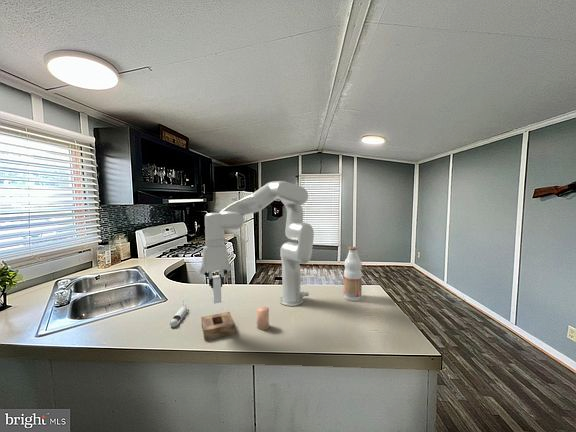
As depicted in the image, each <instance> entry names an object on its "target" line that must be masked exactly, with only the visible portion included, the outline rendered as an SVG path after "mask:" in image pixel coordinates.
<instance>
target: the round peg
mask: <svg viewBox="0 0 576 432" xmlns="http://www.w3.org/2000/svg"><path fill="white" fill-rule="evenodd" d="M269 311H270V309H269V307H268V306H259V307H257V308H256V324H257V326H256V328H257V330H260V331H266V330H268V329H269V327H270V313H269Z"/></svg>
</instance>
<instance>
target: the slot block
mask: <svg viewBox="0 0 576 432" xmlns="http://www.w3.org/2000/svg"><path fill="white" fill-rule="evenodd" d="M201 329H202V335H203V339H204V341H206V340H212V339H217V338H220V337H224V336H225V337H226V336H230V335H234V334H236V323H235V320H234V319H233V316H232V314H231V313H230V311H227V312H221V313H215V314H210V315H205V316H204V315H203V316H201Z"/></svg>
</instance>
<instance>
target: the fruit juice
mask: <svg viewBox="0 0 576 432" xmlns="http://www.w3.org/2000/svg"><path fill="white" fill-rule="evenodd" d="M347 248H348V254H347V257H346V258H345V260H344V261H343V262H344V264H343V265H344V271H343V297H344V299H345V300H346V301H350V302H359V301H361V300H362V287H363V286H362V284H363V283H362V281H363V280H362V278H363V275H362V274H363V272H362V266H363V264H362V260H361V259H360V257H359V254H358V251H359V248H358V247H357V246H348V247H347Z"/></svg>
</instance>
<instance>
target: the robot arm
mask: <svg viewBox="0 0 576 432" xmlns="http://www.w3.org/2000/svg"><path fill="white" fill-rule="evenodd" d="M308 199H309V193H308V191H307V189H306V188H305V187H303V186H300V185H298V184H294V183H291V182H288V181H285V180H276V181H269V182H267V183H265V184H264V185H263V186H261V187H260V188H259V189H257V190H256V191H253V193H251V194H250V195H248V196H245V197H244V198H241V199H239V200H237V201H234V202H233V203H231V204H229V205H228V206H226V207H225V208H223V209H222V210H221V211H219V212H208V213H206V214H205V215H204V227H205V228H204V234H205V236H204V237H205V246H203V249H202V260H201V261H202V265H201V267H200V269H199V271H198V272H199V274H201V275H203V276H205V277H207V278H208V284H209V287H210V288H211V289H212V288H213V278H212V276H213V272H217V271H218V272H219V276H220V278H221V288H222V287H223V285H224V277H225V276H226V274H227V273H228V272H230V271H232V266H231V264H230V262H229V253H228V248H227V243H229V239H226V238H225V230H230V231H231V230H239V229H240V228H242V227H243V225H244V224H245V218H244V216H246V215H249V214H255V213H258V212H261V211H262V210H263V209H265V208H266V207H267V206H269V205H270V204H271V203H273V202H274V201H275V200H280V202H281V203H282V204H283V205H284V207H285V209H286V222H285V231H284V234H285V236H286V238H287V239H289V240H293V242H292V241H287V242H284V243H283V244H282V245H281V247H280V248H279V249H280V250H279V251H280V252H279V254H280V255H279V256H280V259H281V267H282V268H281V269H282V270H281V272H282V273H281V275H282V276H281V277H282V278H281V279H282V281H281V282H282V283H281V284H282V287H281V288H282V295H281V296H280V298H279V303H280V304H281V305H283V306H287V307H295V306H299V305H302V304H303V303H304V297H308V296H309V295H310V293H309V292H308V291H307V292H305V291H304V290H303V291H301V266H300V264H301V265H305V264H307V263H309V262H310V260H311V258H312V255H313V246H314V235H315V233H314V227H313V226H312V225H311V224H309V223H308V222H304V210H303V207H302V205H304V204H305V203H307V201H308ZM294 241H297V242H294Z"/></svg>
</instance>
